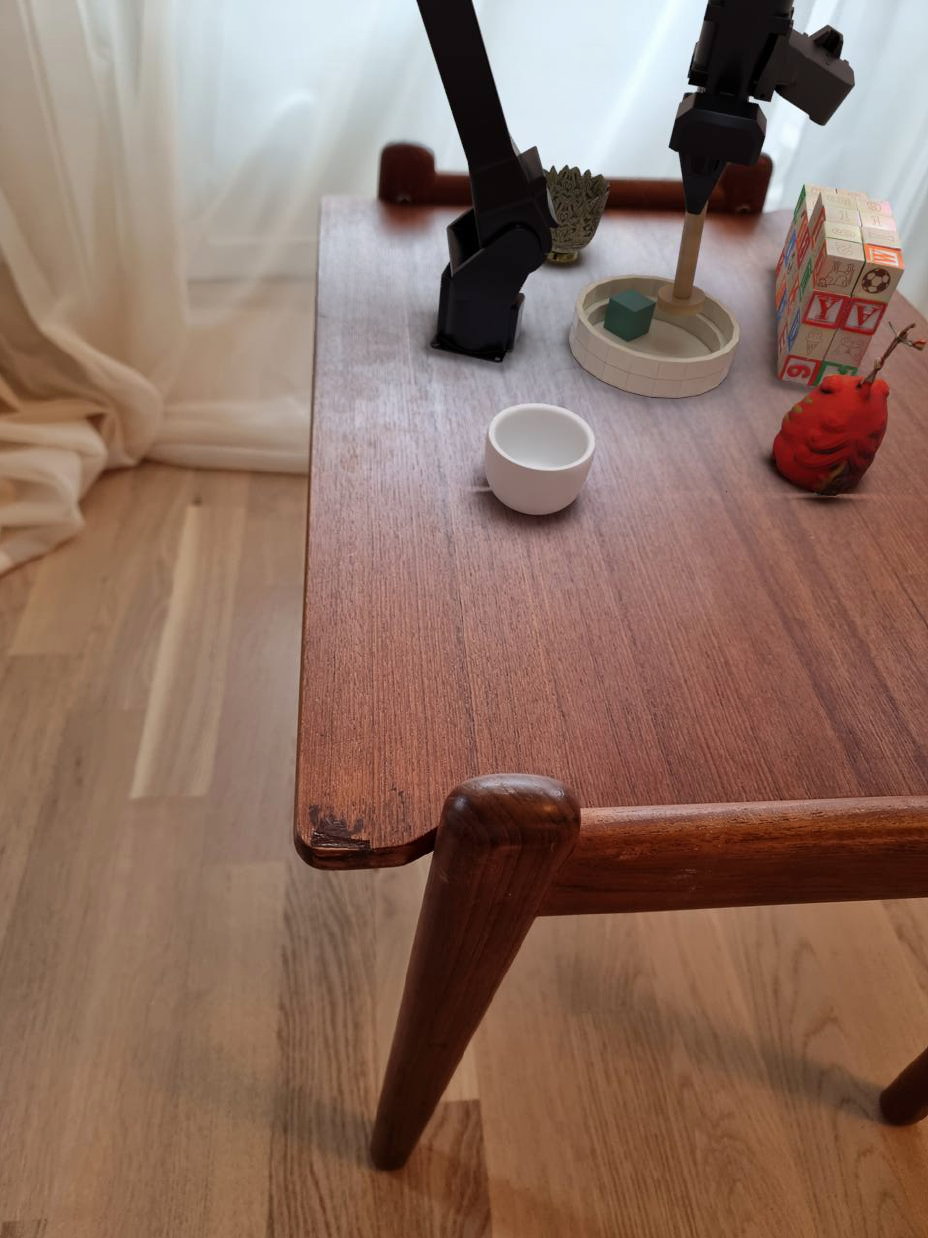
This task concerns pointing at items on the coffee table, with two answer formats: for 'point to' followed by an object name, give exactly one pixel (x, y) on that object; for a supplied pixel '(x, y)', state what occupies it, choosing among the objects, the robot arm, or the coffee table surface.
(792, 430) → the red clay folk toy
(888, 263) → the stack of blocks
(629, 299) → the block
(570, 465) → the teacup
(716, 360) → the bowl
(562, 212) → the cup
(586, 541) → the coffee table surface
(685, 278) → the tan rod with disc
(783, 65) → the robot arm
